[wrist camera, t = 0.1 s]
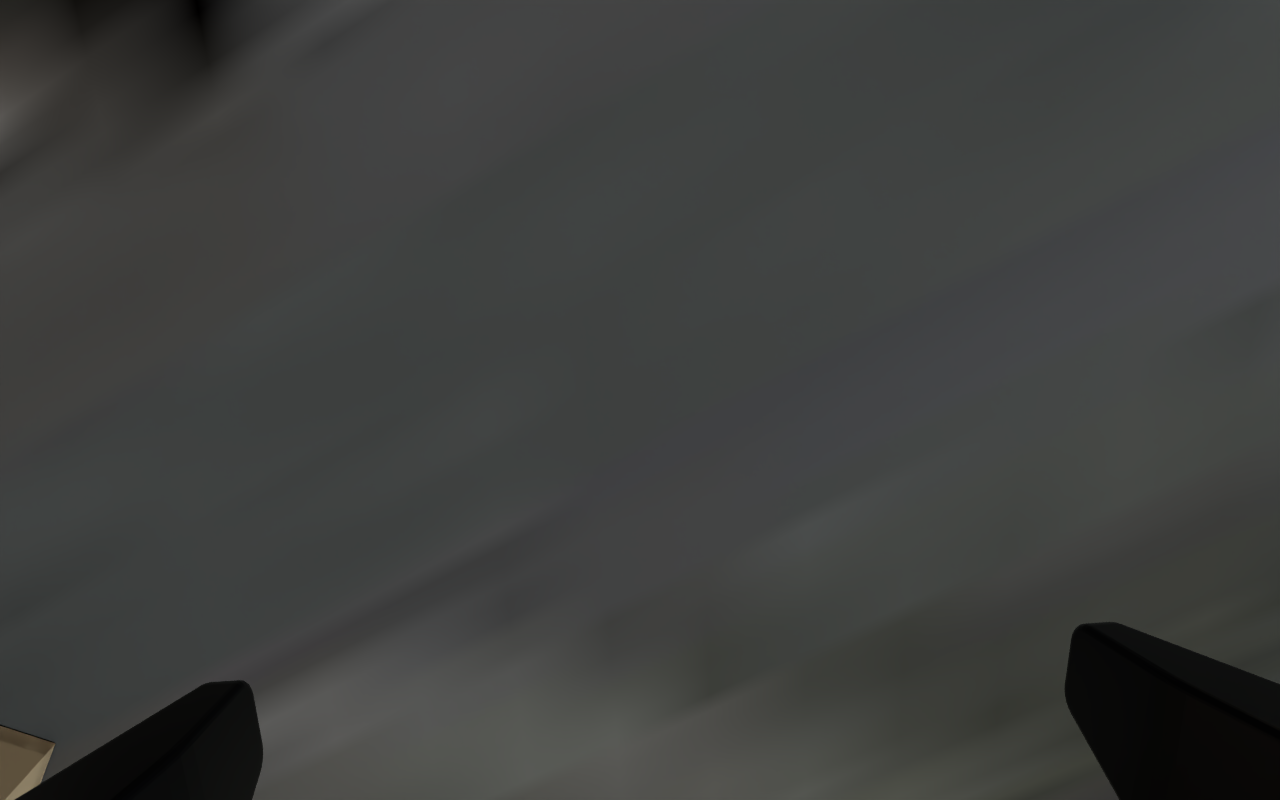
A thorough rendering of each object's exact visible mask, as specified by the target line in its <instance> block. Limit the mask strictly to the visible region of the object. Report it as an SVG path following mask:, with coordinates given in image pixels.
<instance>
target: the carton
mask: <svg viewBox="0 0 1280 800" xmlns="http://www.w3.org/2000/svg"><path fill="white" fill-rule="evenodd" d="M54 746H55V743H52V742H49V741H46V740H43V739H39V738H36V737H33V736H30V735H27V734H24V733H21V732H18V731H15V730H12V729H9V728H6V727H2V726H0V800H15V799H16V798H18V797H20V796H21V795H23V794H24V793H26V792H28V791H29V790H31V789H33V788H34V787H36V786H38V785H39V784H40V783H41V780H42V778H43V775H44V772H45V770H46V767H47V764H48V762H49V759H50V756H51V754H52V751H53V749H54Z"/></svg>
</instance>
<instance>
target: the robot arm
mask: <svg viewBox="0 0 1280 800" xmlns="http://www.w3.org/2000/svg"><path fill="white" fill-rule="evenodd" d="M1065 697H1066V702H1067V705H1068V708H1069V710H1070V712H1071V714H1072V716H1073V718H1074V720H1075V721H1076V723H1077V725H1078V727H1079V728H1080V730H1081V732H1082V734H1083V736H1084V737H1085V739H1086V741H1087V743H1088V745H1089V746H1090V748H1091V750H1092V752H1093V753H1094V755H1095V757H1096V759H1097V761H1098V762H1099V764H1100V766H1101V768H1102V770H1103V771H1104V773H1105V775H1106V777H1107V778H1108V780H1109V782H1110V784H1111V786H1112V787H1113V789H1114V791H1115V793H1116V794H1117V796H1118V798H1119V800H1280V684H1278V683H1275V682H1273V681H1270V680H1267V679H1265V678H1262V677H1259V676H1257V675H1254V674H1251V673H1249V672H1246V671H1244V670H1241V669H1238V668H1236V667H1233V666H1230V665H1228V664H1225V663H1222V662H1220V661H1217V660H1214V659H1212V658H1209V657H1207V656H1204V655H1201V654H1199V653H1196V652H1193V651H1191V650H1188V649H1185V648H1183V647H1180V646H1178V645H1175V644H1172V643H1170V642H1167V641H1164V640H1162V639H1159V638H1156V637H1154V636H1151V635H1148V634H1146V633H1143V632H1141V631H1138V630H1135V629H1133V628H1130V627H1127V626H1125V625H1122V624H1119V623H1115V622H1102V623H1088V624H1081V625H1079V626H1078V627H1077V628H1076V629H1075V630H1074V632H1073V634H1072V638H1071V645H1070V652H1069V659H1068V666H1067V673H1066V680H1065ZM262 762H263V745H262V739H261V733H260V728H259V723H258V717H257V712H256V707H255V701H254V696H253V692H252V689H251V687H250V685H249V684H248V683H246V682H245V681H242V680H237V681H222V682H209V683H205V684H203V685H201V686H200V687H198V688H196V689H195V690H193V691H191V692H190V693H188V694H186V695H185V696H183V697H182V698H180V699H178V700H177V701H175V702H173V703H172V704H170V705H168V706H167V707H165V708H164V709H162V710H160V711H159V712H157V713H155V714H154V715H152V716H150V717H149V718H147V719H146V720H144V721H142V722H141V723H139V724H137V725H136V726H134V727H132V728H131V729H129V730H128V731H126V732H124V733H123V734H121V735H119V736H118V737H116V738H114V739H113V740H111V741H110V742H108V743H106V744H105V745H103V746H101V747H100V748H98V749H96V750H95V751H93V752H92V753H90V754H88V755H87V756H85V757H83V758H82V759H80V760H78V761H77V762H75V763H74V764H72V765H70V766H69V767H67V768H65V769H64V770H62V771H60V772H59V773H57V774H56V775H54V776H52V777H51V778H49V779H47V780H46V781H44V782H42V783H41V784H39V785H38V786H36V787H34V788H33V789H31V790H29V791H28V792H26V793H24V794H23V795H21V796H20V797H18V798H16V799H15V800H252V798H253V795H254V791H255V788H256V785H257V782H258V778H259V775H260V772H261V768H262Z"/></svg>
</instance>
